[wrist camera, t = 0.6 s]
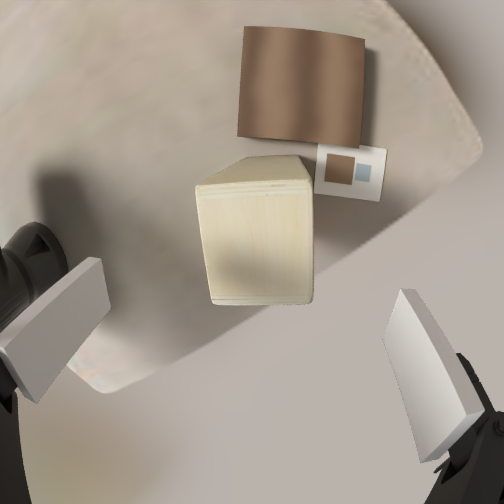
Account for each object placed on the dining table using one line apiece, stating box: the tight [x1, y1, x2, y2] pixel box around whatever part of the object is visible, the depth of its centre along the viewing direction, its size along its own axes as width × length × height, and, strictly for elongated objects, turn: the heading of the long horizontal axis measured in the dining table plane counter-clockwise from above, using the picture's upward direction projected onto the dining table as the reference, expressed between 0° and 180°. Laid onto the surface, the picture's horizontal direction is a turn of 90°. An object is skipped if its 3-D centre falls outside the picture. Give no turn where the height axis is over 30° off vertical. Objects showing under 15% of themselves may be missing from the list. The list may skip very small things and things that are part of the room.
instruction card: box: [313, 143, 387, 202], centre depth 33 cm, size 9×7×1 cm
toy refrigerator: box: [195, 155, 314, 305], centre depth 26 cm, size 8×7×21 cm
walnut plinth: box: [237, 26, 365, 149], centre depth 29 cm, size 14×14×3 cm
